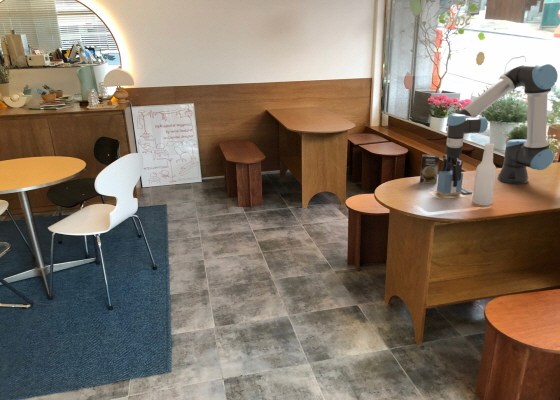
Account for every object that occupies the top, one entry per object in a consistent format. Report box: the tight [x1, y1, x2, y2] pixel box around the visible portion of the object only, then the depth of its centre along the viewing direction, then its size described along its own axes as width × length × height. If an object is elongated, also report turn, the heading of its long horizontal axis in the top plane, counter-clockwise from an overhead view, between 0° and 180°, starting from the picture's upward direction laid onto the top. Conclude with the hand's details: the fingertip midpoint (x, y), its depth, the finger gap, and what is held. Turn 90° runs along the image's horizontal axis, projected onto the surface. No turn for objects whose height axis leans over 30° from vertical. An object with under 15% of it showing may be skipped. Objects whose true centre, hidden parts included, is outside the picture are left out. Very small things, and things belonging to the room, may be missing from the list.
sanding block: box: [436, 170, 464, 196], centre depth 229 cm, size 10×6×11 cm, turn 103°
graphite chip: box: [461, 187, 473, 194], centre depth 233 cm, size 2×7×1 cm, turn 13°
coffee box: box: [419, 153, 440, 185], centre depth 249 cm, size 9×6×16 cm
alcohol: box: [471, 142, 497, 208], centre depth 214 cm, size 9×9×30 cm
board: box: [427, 187, 473, 200], centre depth 231 cm, size 22×12×1 cm, turn 103°
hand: (449, 190), depth 230 cm, fingers closed on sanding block, 6 cm apart
